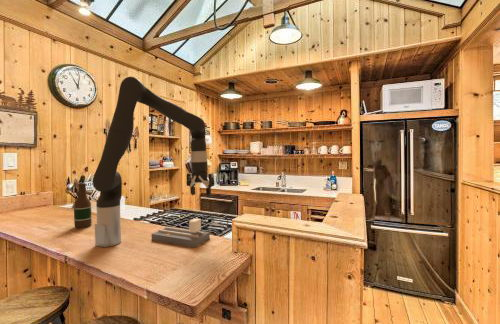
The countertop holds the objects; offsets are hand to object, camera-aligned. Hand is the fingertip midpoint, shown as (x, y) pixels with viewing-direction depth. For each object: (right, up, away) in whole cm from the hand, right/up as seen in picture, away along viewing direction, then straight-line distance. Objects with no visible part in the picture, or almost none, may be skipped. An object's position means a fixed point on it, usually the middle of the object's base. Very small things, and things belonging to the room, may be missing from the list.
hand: (200, 195), depth 115 cm
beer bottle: (-69, -20, +20) cm, 74 cm away
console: (-10, -21, +1) cm, 23 cm away
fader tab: (-2, -18, -2) cm, 18 cm away
